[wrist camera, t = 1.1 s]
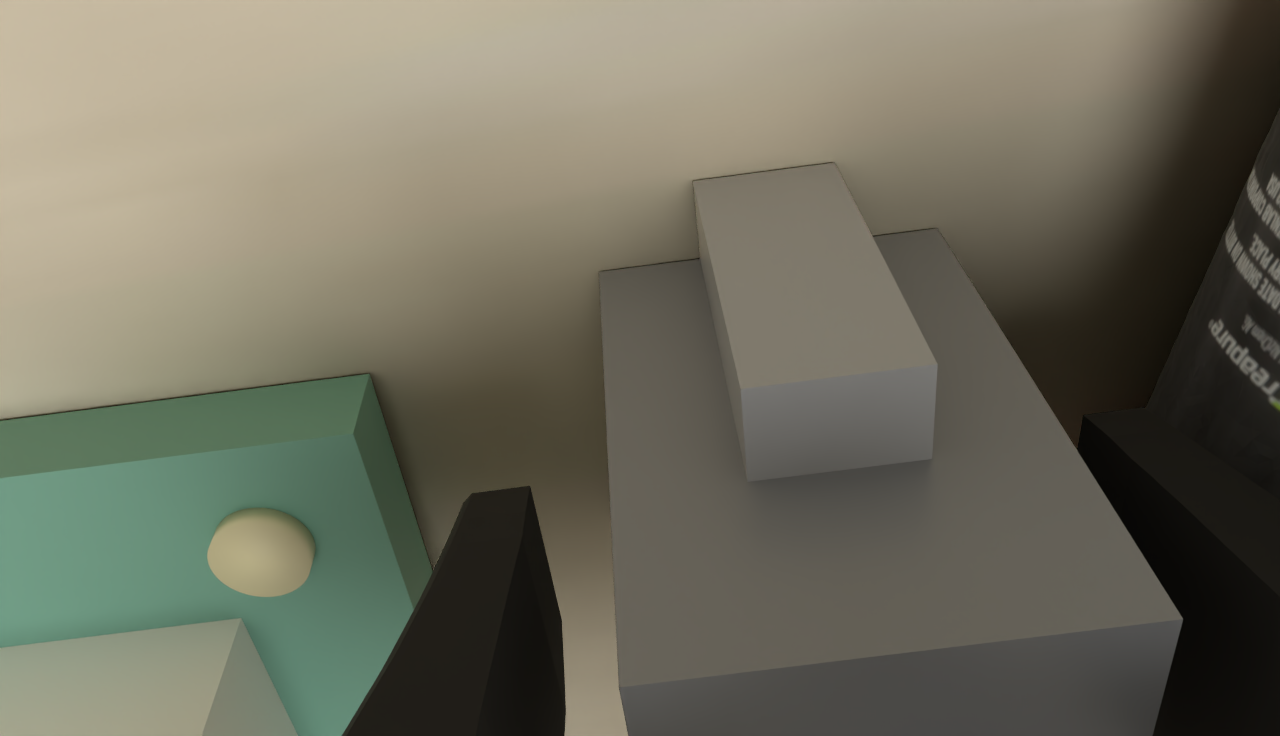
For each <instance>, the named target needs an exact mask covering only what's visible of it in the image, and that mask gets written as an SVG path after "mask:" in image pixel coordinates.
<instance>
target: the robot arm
mask: <svg viewBox="0 0 1280 736" xmlns="http://www.w3.org/2000/svg"><path fill="white" fill-rule="evenodd" d="M1078 453H1079V454H1080V456H1081V457H1082V459H1083V461H1084V462H1085V464H1086V465H1087V467H1088V469H1089V470H1090V472H1091V473H1092V475H1093V476H1094V478H1095V480H1096V481H1097V483H1098V484H1099V486H1100V488H1101V489H1102V491H1103V492H1104V494H1105V496H1106V497H1107V499H1108V500H1109V502H1110V504H1111V505H1112V507H1113V508H1114V510H1115V511H1116V513H1117V515H1118V516H1119V518H1120V519H1121V521H1122V523H1123V524H1124V526H1125V527H1126V529H1127V531H1128V532H1129V534H1130V535H1131V537H1132V539H1133V540H1134V542H1135V543H1136V545H1137V546H1138V548H1139V550H1140V551H1141V553H1142V554H1143V556H1144V558H1145V559H1146V561H1147V562H1148V564H1149V566H1150V567H1151V569H1152V570H1153V572H1154V574H1155V575H1156V577H1157V578H1158V580H1159V581H1160V583H1161V585H1162V586H1163V588H1164V589H1165V591H1166V593H1167V594H1168V596H1169V597H1170V599H1171V601H1172V602H1173V604H1174V605H1175V607H1176V609H1177V610H1178V612H1179V613H1180V615H1181V616H1182V618H1183V622H1182V626H1181V629H1180V633H1179V637H1178V641H1177V645H1176V648H1175V652H1174V656H1173V660H1172V664H1171V667H1170V671H1169V675H1168V679H1167V683H1166V686H1165V690H1164V694H1163V698H1162V702H1161V705H1160V709H1159V713H1158V717H1157V721H1156V724H1155V728H1154V732H1153V736H1280V500H1279V499H1278V498H1276V497H1275V496H1273V495H1272V494H1270V493H1269V492H1267V491H1266V490H1264V489H1263V488H1261V487H1260V486H1259V485H1257V484H1256V483H1254V482H1253V481H1251V480H1250V479H1248V478H1247V477H1245V476H1244V475H1242V474H1241V473H1240V472H1238V471H1237V470H1235V469H1234V468H1232V467H1231V466H1229V465H1228V464H1226V463H1225V462H1224V461H1222V460H1221V459H1219V458H1218V457H1216V456H1215V455H1213V454H1212V453H1211V452H1209V451H1208V450H1206V449H1205V448H1203V447H1202V446H1200V445H1199V444H1197V443H1196V442H1195V441H1193V440H1192V439H1190V438H1189V437H1187V436H1186V435H1184V434H1183V433H1181V432H1180V431H1179V430H1177V429H1176V428H1174V427H1173V426H1171V425H1170V424H1168V423H1167V422H1165V421H1164V420H1162V419H1161V418H1159V417H1157V416H1156V415H1154V414H1153V413H1151V412H1150V411H1148V410H1147V409H1145V408H1143V407H1142V408H1135V409H1127V410H1119V411H1111V412H1103V413H1096V414H1088V415H1083V420H1082V426H1081V432H1080V438H1079V444H1078ZM565 715H566V706H565V680H564V658H563V638H562V620H561V615H560V611H559V607H558V603H557V598H556V594H555V590H554V586H553V581H552V577H551V573H550V569H549V564H548V560H547V556H546V552H545V547H544V543H543V539H542V535H541V530H540V526H539V522H538V517H537V513H536V509H535V505H534V500H533V496H532V492H531V488H530V486H526V487H518V488H510V489H502V490H494V491H487V492H479V493H472V494H471V495H470V496H469V497H468V498H467V499H466V501H465V502H464V503H463V505H462V507H461V510H460V512H459V515H458V517H457V520H456V522H455V524H454V527H453V529H452V531H451V533H450V536H449V538H448V540H447V543H446V545H445V547H444V549H443V551H442V554H441V556H440V558H439V560H438V562H437V564H436V566H435V569H434V571H433V573H432V575H431V577H430V579H429V581H428V583H427V585H426V587H425V589H424V591H423V593H422V595H421V597H420V599H419V601H418V603H417V605H416V607H415V609H414V611H413V612H412V614H411V616H410V618H409V620H408V622H407V624H406V626H405V627H404V629H403V631H402V633H401V635H400V637H399V639H398V641H397V642H396V644H395V646H394V648H393V650H392V652H391V654H390V655H389V657H388V659H387V661H386V663H385V664H384V666H383V668H382V670H381V672H380V673H379V675H378V677H377V678H376V680H375V682H374V683H373V685H372V687H371V688H370V690H369V692H368V693H367V695H366V696H365V698H364V700H363V701H362V703H361V705H360V706H359V708H358V710H357V711H356V713H355V715H354V716H353V718H352V720H351V721H350V723H349V724H348V726H347V728H346V729H345V731H344V733H343V734H342V736H564V732H565Z"/></svg>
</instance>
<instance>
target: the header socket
mask: <svg viewBox="0 0 1280 736" xmlns="http://www.w3.org/2000/svg"><path fill="white" fill-rule="evenodd" d="M0 736H298V735H297V733H296V731H295V728H294V726H293V724H292V722H291V720H290V718H289V716H288V714H287V712H286V710H285V708H284V706H283V704H282V702H281V699H280V697H279V695H278V693H277V691H276V689H275V687H274V685H273V683H272V681H271V679H270V677H269V675H268V673H267V670H266V668H265V666H264V664H263V662H262V660H261V658H260V656H259V654H258V652H257V650H256V648H255V646H254V644H253V641H252V639H251V637H250V635H249V633H248V631H247V629H246V627H245V625H244V623H243V621H242V619H241V618H238V619H230V620H221V621H213V622H205V623H197V624H189V625H181V626H173V627H165V628H157V629H149V630H140V631H132V632H124V633H116V634H108V635H100V636H92V637H84V638H76V639H68V640H59V641H51V642H43V643H35V644H27V645H19V646H11V647H3V648H0Z"/></svg>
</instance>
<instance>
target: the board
mask: <svg viewBox="0 0 1280 736" xmlns="http://www.w3.org/2000/svg"><path fill="white" fill-rule="evenodd" d="M432 573H433V571H432V568H431V565H430V562H429V558H428V555H427V552H426V549H425V546H424V543H423V540H422V537H421V533H420V530H419V527H418V524H417V521H416V518H415V515H414V512H413V508H412V505H411V502H410V499H409V496H408V493H407V490H406V487H405V483H404V480H403V477H402V474H401V471H400V468H399V465H398V462H397V458H396V455H395V452H394V449H393V446H392V443H391V440H390V437H389V433H388V430H387V427H386V424H385V421H384V418H383V415H382V412H381V408H380V405H379V402H378V399H377V396H376V393H375V390H374V387H373V383H372V380H371V377H370V374H364V375H356V376H348V377H340V378H332V379H325V380H317V381H309V382H301V383H293V384H285V385H278V386H270V387H262V388H254V389H246V390H239V391H231V392H223V393H215V394H207V395H199V396H192V397H184V398H176V399H168V400H160V401H152V402H145V403H137V404H129V405H121V406H113V407H105V408H98V409H90V410H82V411H74V412H66V413H58V414H51V415H43V416H35V417H27V418H19V419H11V420H4V421H0V648H3V647H11V646H19V645H27V644H35V643H43V642H51V641H59V640H68V639H76V638H84V637H92V636H100V635H108V634H116V633H124V632H132V631H140V630H149V629H157V628H165V627H173V626H181V625H189V624H197V623H205V622H213V621H221V620H230V619H238V618H241V619H242V621H243V623H244V625H245V627H246V629H247V631H248V633H249V635H250V637H251V639H252V641H253V644H254V646H255V648H256V650H257V652H258V654H259V656H260V658H261V660H262V662H263V664H264V666H265V668H266V670H267V673H268V675H269V677H270V679H271V681H272V683H273V685H274V687H275V689H276V691H277V693H278V695H279V697H280V699H281V702H282V704H283V706H284V708H285V710H286V712H287V714H288V716H289V718H290V720H291V722H292V724H293V726H294V728H295V731H296V733H297V735H298V736H342V734H343V733H344V731H345V729H346V728H347V726H348V724H349V723H350V721H351V720H352V718H353V716H354V715H355V713H356V711H357V710H358V708H359V706H360V705H361V703H362V701H363V700H364V698H365V696H366V695H367V693H368V692H369V690H370V688H371V687H372V685H373V683H374V682H375V680H376V678H377V677H378V675H379V673H380V672H381V670H382V668H383V666H384V664H385V663H386V661H387V659H388V657H389V655H390V654H391V652H392V650H393V648H394V646H395V644H396V642H397V641H398V639H399V637H400V635H401V633H402V631H403V629H404V627H405V626H406V624H407V622H408V620H409V618H410V616H411V614H412V612H413V611H414V609H415V607H416V605H417V603H418V601H419V599H420V597H421V595H422V593H423V591H424V589H425V587H426V585H427V583H428V581H429V579H430V577H431V575H432Z"/></svg>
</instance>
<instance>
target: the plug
mask: <svg viewBox="0 0 1280 736" xmlns="http://www.w3.org/2000/svg"><path fill="white" fill-rule="evenodd" d="M693 189H694V200H695V211H696V221H697V232H698V243H699V253H700V259H696V260H688V261H680V262H672V263H664V264H657V265H649V266H641V267H633V268H626V269H618V270H610V271H602V272H599V285H600V305H601V326H602V347H603V367H604V388H605V408H606V429H607V450H608V470H609V491H610V512H611V532H612V553H613V573H614V594H615V615H616V635H617V656H618V676H619V690H620V695H621V700H622V705H623V710H624V715H625V720H626V726H627V731H628V736H1153V732H1154V728H1155V724H1156V721H1157V717H1158V713H1159V709H1160V705H1161V702H1162V698H1163V694H1164V690H1165V686H1166V683H1167V679H1168V675H1169V671H1170V667H1171V664H1172V660H1173V656H1174V652H1175V648H1176V645H1177V641H1178V637H1179V633H1180V629H1181V626H1182V622H1183V618H1182V616H1181V615H1180V613H1179V612H1178V610H1177V609H1176V607H1175V605H1174V604H1173V602H1172V601H1171V599H1170V597H1169V596H1168V594H1167V593H1166V591H1165V589H1164V588H1163V586H1162V585H1161V583H1160V581H1159V580H1158V578H1157V577H1156V575H1155V574H1154V572H1153V570H1152V569H1151V567H1150V566H1149V564H1148V562H1147V561H1146V559H1145V558H1144V556H1143V554H1142V553H1141V551H1140V550H1139V548H1138V546H1137V545H1136V543H1135V542H1134V540H1133V539H1132V537H1131V535H1130V534H1129V532H1128V531H1127V529H1126V527H1125V526H1124V524H1123V523H1122V521H1121V519H1120V518H1119V516H1118V515H1117V513H1116V511H1115V510H1114V508H1113V507H1112V505H1111V504H1110V502H1109V500H1108V499H1107V497H1106V496H1105V494H1104V492H1103V491H1102V489H1101V488H1100V486H1099V484H1098V483H1097V481H1096V480H1095V478H1094V476H1093V475H1092V473H1091V472H1090V470H1089V469H1088V467H1087V465H1086V464H1085V462H1084V461H1083V459H1082V457H1081V456H1080V454H1079V453H1078V451H1077V449H1076V448H1075V446H1074V445H1073V443H1072V441H1071V440H1070V438H1069V437H1068V435H1067V434H1066V432H1065V430H1064V429H1063V427H1062V426H1061V424H1060V422H1059V421H1058V419H1057V418H1056V416H1055V414H1054V413H1053V411H1052V410H1051V408H1050V406H1049V405H1048V403H1047V402H1046V400H1045V399H1044V397H1043V395H1042V394H1041V392H1040V391H1039V389H1038V387H1037V386H1036V384H1035V383H1034V381H1033V379H1032V378H1031V376H1030V375H1029V373H1028V371H1027V370H1026V368H1025V367H1024V365H1023V364H1022V362H1021V360H1020V359H1019V357H1018V356H1017V354H1016V352H1015V351H1014V349H1013V348H1012V346H1011V344H1010V343H1009V341H1008V340H1007V338H1006V336H1005V335H1004V333H1003V332H1002V330H1001V329H1000V327H999V325H998V324H997V322H996V321H995V319H994V317H993V316H992V314H991V313H990V311H989V309H988V308H987V306H986V305H985V303H984V301H983V300H982V298H981V297H980V295H979V294H978V292H977V290H976V289H975V287H974V286H973V284H972V282H971V281H970V279H969V278H968V276H967V274H966V273H965V271H964V270H963V268H962V266H961V265H960V263H959V262H958V260H957V259H956V257H955V255H954V254H953V252H952V251H951V249H950V247H949V246H948V244H947V243H946V241H945V239H944V238H943V236H942V235H941V233H940V231H939V230H938V228H936V229H928V230H921V231H913V232H905V233H897V234H890V235H882V236H874V237H872V235H871V233H870V231H869V229H868V227H867V225H866V223H865V221H864V219H863V217H862V215H861V213H860V211H859V209H858V207H857V205H856V203H855V201H854V199H853V197H852V196H851V194H850V192H849V190H848V188H847V186H846V184H845V182H844V180H843V178H842V176H841V174H840V172H839V170H838V168H837V166H836V164H835V163H828V164H820V165H812V166H805V167H797V168H789V169H782V170H774V171H766V172H759V173H751V174H743V175H736V176H728V177H720V178H713V179H705V180H697V181H693Z"/></svg>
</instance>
